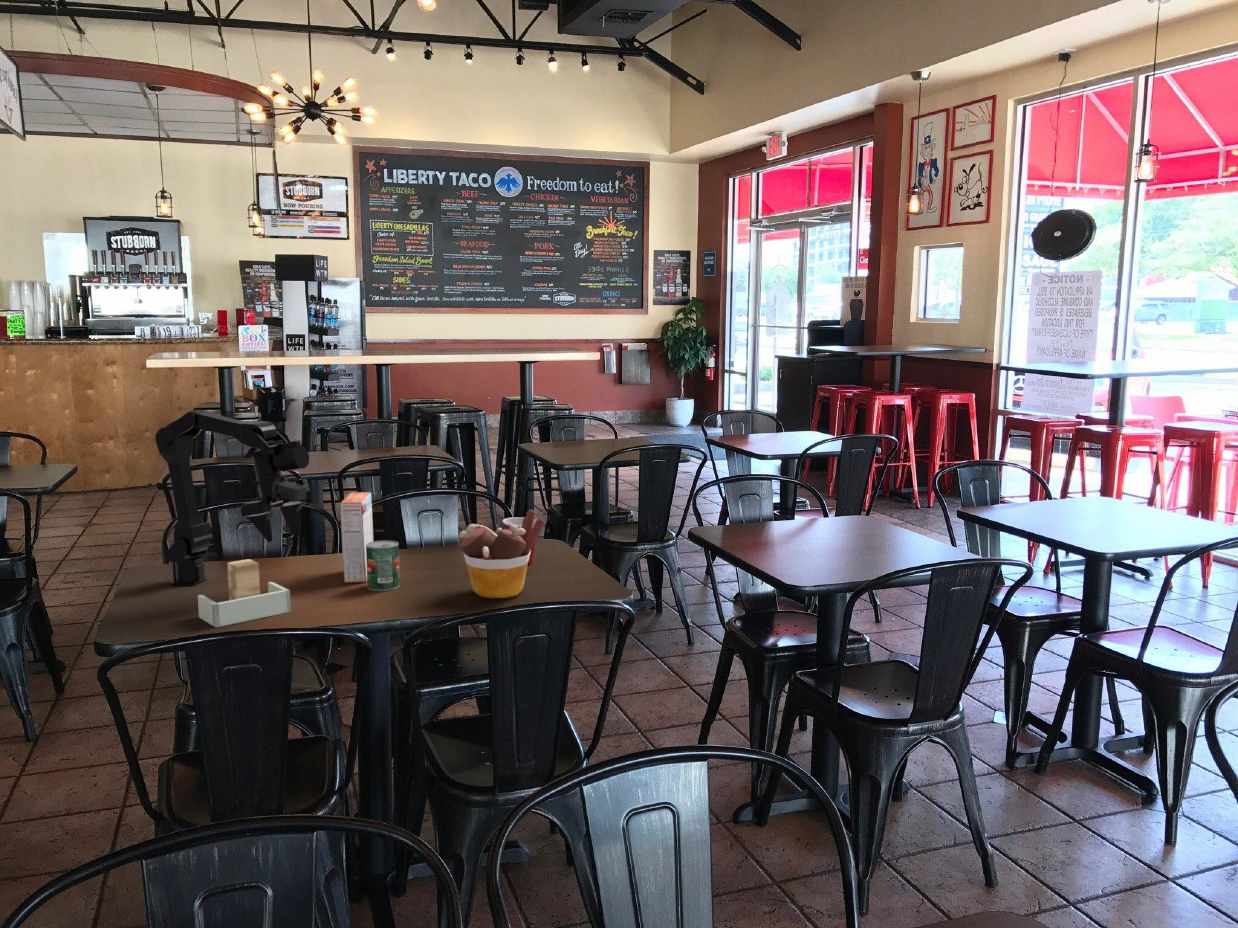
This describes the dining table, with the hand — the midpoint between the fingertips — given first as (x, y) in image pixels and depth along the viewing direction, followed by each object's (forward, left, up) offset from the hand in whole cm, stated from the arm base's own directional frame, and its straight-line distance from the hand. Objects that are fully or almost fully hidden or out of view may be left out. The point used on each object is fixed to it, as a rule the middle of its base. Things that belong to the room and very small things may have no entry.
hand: (282, 537), depth 235 cm
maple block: (0, -18, -14) cm, 23 cm away
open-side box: (0, -18, -14) cm, 23 cm away
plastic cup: (+51, +36, -14) cm, 64 cm away
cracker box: (+12, +17, -14) cm, 25 cm away
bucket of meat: (+52, +7, -14) cm, 54 cm away
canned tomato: (+22, +8, -14) cm, 27 cm away
